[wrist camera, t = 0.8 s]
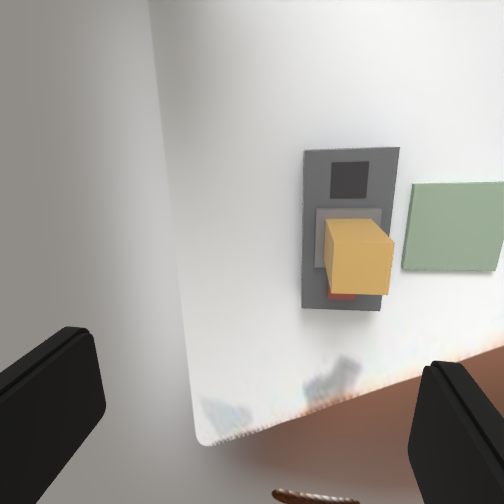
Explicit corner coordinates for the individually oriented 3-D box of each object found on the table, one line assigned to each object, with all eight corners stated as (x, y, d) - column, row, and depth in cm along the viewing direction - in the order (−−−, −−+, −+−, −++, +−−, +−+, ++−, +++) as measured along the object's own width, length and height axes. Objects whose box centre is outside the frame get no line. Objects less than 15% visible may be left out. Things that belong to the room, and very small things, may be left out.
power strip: (304, 149, 34) (304, 150, 29) (388, 146, 32) (401, 147, 28) (301, 292, 40) (301, 310, 36) (372, 295, 38) (381, 313, 34)
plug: (314, 201, 36) (322, 230, 23) (370, 200, 35) (409, 230, 22) (312, 251, 38) (319, 302, 26) (365, 252, 37) (398, 305, 25)
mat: (412, 183, 33) (415, 184, 33) (512, 181, 32) (517, 182, 31) (400, 266, 37) (403, 269, 36) (491, 268, 35) (495, 271, 34)
